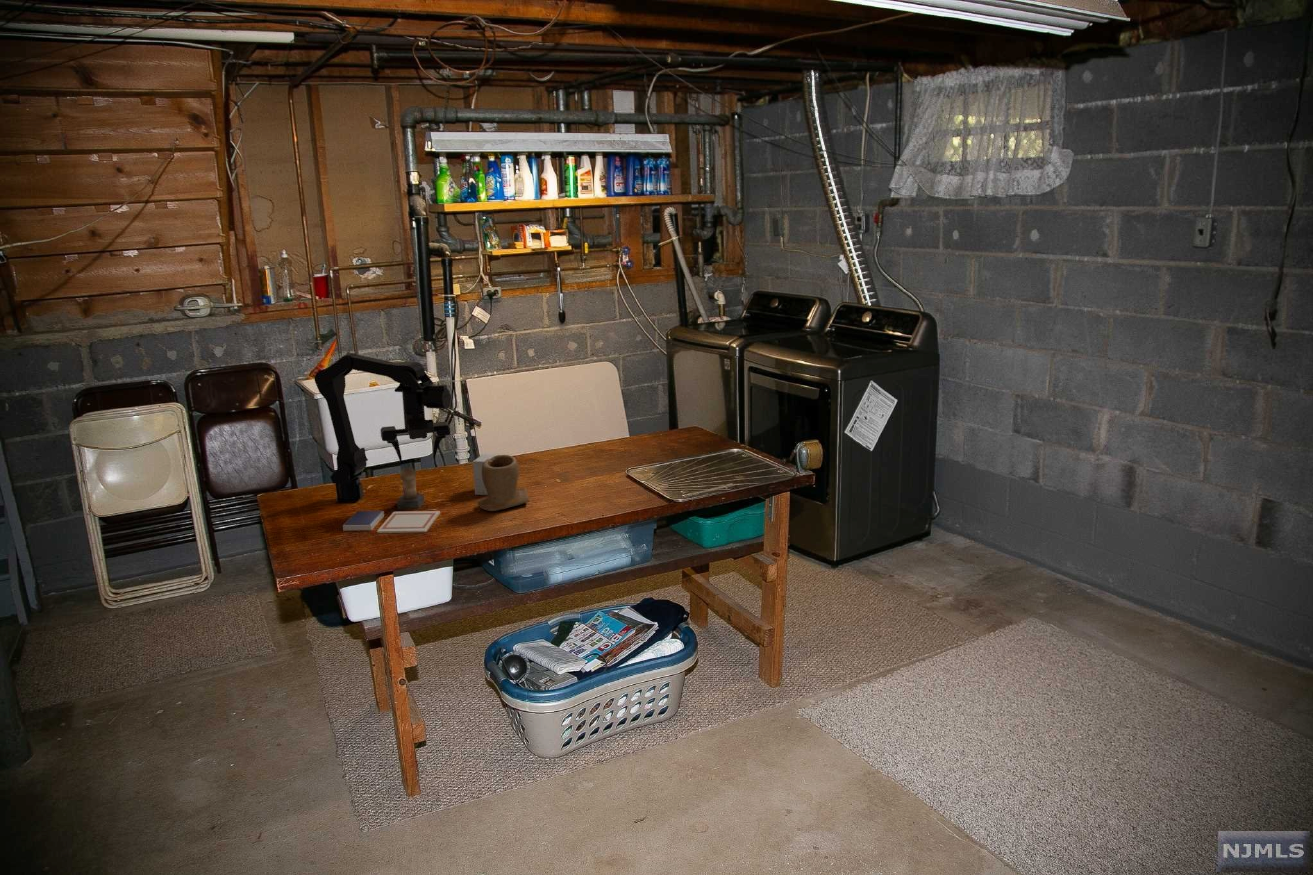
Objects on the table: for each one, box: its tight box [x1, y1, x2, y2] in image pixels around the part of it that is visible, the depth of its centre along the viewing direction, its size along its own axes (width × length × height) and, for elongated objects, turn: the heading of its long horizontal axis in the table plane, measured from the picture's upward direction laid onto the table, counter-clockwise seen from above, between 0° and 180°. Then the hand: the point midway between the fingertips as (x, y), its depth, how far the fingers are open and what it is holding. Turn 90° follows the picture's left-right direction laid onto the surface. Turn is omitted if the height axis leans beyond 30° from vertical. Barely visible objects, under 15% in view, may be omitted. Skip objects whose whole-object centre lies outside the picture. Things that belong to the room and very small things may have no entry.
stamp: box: [396, 466, 425, 510], centre depth 260 cm, size 6×6×12 cm
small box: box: [472, 453, 498, 496], centre depth 271 cm, size 8×6×10 cm
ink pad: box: [342, 510, 385, 532], centre depth 248 cm, size 8×11×2 cm
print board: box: [376, 510, 441, 534], centre depth 248 cm, size 13×15×1 cm
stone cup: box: [477, 454, 531, 512], centre depth 257 cm, size 15×12×15 cm
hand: (417, 460), depth 260 cm, fingers open, 9 cm apart
